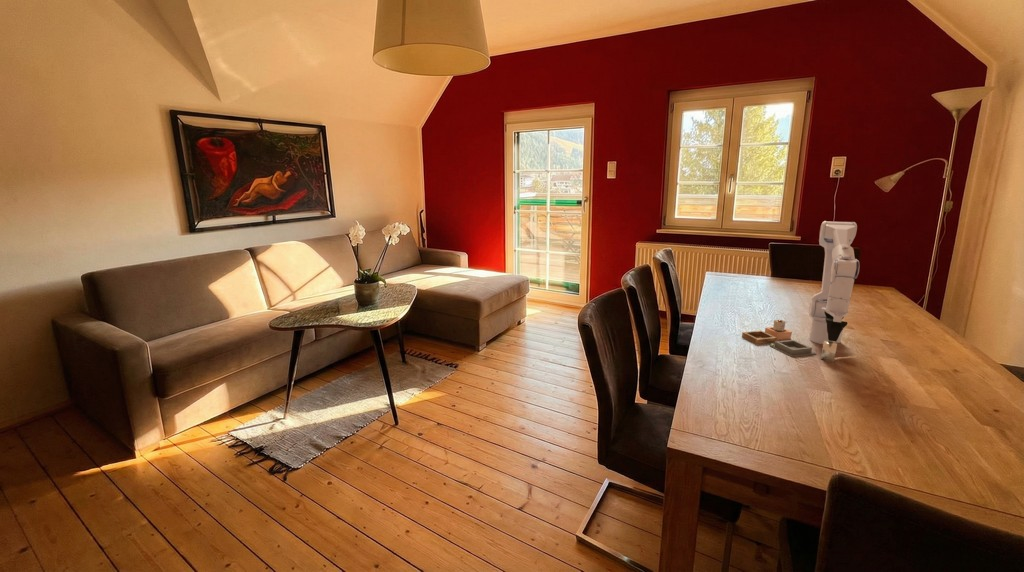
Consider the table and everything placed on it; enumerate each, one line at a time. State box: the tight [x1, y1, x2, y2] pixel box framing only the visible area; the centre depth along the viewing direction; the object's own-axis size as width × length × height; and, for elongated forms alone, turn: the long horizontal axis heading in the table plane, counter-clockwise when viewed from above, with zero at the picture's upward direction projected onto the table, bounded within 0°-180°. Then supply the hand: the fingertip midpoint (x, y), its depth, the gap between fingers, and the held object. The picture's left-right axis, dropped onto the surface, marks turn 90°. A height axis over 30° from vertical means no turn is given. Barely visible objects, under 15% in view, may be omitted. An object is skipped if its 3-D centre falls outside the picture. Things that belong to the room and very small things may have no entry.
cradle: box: [769, 339, 817, 358], centre depth 150 cm, size 10×10×3 cm
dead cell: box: [772, 319, 786, 332], centre depth 161 cm, size 4×4×6 cm
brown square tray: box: [741, 330, 778, 345], centre depth 159 cm, size 8×8×2 cm
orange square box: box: [764, 326, 793, 341], centre depth 162 cm, size 6×6×3 cm
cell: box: [820, 341, 838, 363], centre depth 143 cm, size 4×4×6 cm
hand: (831, 336), depth 141 cm, fingers open, 7 cm apart
